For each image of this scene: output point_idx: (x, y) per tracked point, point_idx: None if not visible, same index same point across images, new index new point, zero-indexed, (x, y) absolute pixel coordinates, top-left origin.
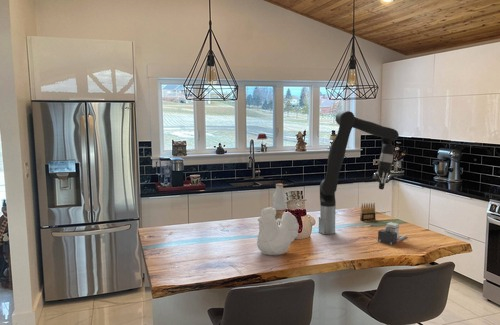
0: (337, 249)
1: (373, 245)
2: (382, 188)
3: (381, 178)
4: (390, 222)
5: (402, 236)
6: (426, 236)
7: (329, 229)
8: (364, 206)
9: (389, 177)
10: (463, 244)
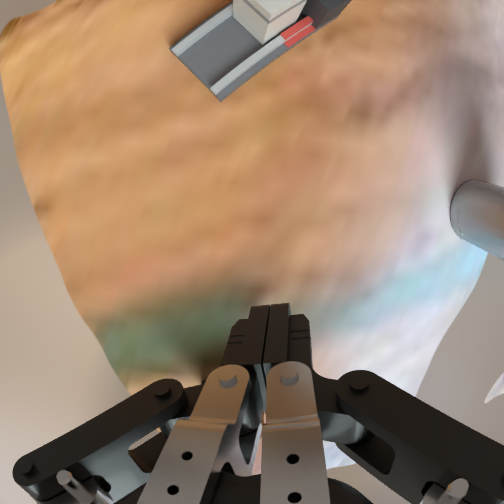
0: (477, 23)
1: (358, 9)
2: (263, 310)
3: (322, 444)
4: (274, 9)
5: (203, 31)
6: (66, 110)
7: (488, 183)
8: (261, 422)
9: (91, 478)
10: (7, 31)
